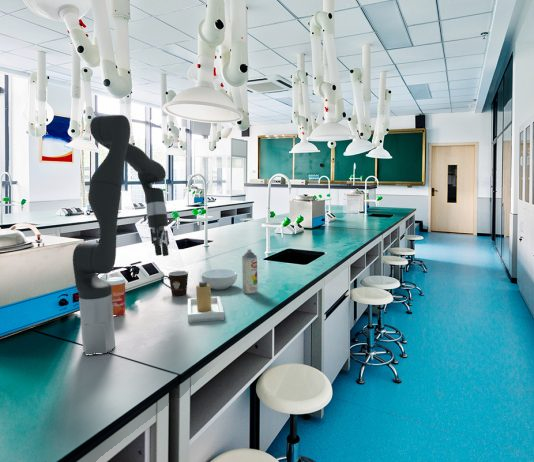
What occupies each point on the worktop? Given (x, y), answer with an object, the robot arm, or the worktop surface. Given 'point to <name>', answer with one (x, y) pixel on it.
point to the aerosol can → (249, 273)
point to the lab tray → (211, 315)
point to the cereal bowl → (219, 278)
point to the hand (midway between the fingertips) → (162, 255)
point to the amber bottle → (203, 297)
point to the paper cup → (117, 294)
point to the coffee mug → (177, 283)
